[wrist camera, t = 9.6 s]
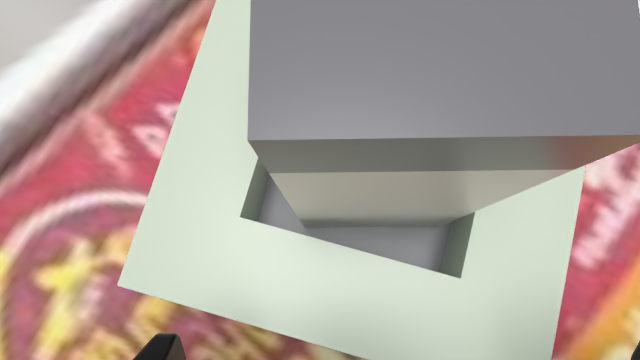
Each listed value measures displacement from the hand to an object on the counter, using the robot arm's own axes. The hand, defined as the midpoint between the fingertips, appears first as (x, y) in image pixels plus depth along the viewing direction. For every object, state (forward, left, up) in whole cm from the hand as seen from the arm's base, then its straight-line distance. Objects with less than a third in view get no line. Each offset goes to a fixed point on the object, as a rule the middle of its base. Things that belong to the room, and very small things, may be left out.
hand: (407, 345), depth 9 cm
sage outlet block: (+5, +2, -9) cm, 10 cm away
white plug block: (+5, +2, -8) cm, 10 cm away
